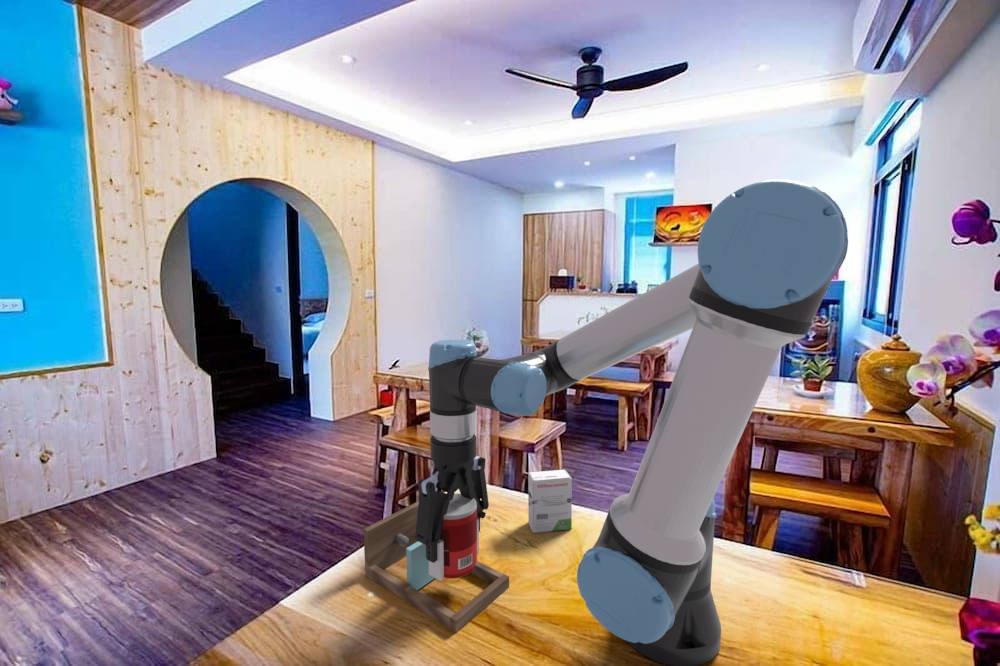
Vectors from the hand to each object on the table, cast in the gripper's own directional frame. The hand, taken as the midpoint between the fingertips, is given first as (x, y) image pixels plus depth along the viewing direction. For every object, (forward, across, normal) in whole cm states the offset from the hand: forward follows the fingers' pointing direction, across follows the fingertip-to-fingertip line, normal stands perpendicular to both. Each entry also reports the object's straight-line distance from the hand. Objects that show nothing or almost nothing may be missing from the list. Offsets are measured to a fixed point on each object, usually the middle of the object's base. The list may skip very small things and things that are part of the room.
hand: (454, 563), depth 81 cm
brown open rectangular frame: (+5, 0, -5) cm, 7 cm away
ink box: (+5, -28, +1) cm, 29 cm away
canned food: (0, 0, 0) cm, 0 cm away
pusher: (+5, 0, -7) cm, 8 cm away
